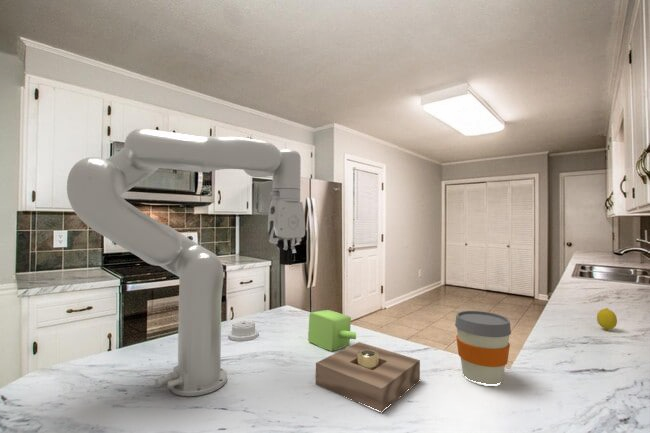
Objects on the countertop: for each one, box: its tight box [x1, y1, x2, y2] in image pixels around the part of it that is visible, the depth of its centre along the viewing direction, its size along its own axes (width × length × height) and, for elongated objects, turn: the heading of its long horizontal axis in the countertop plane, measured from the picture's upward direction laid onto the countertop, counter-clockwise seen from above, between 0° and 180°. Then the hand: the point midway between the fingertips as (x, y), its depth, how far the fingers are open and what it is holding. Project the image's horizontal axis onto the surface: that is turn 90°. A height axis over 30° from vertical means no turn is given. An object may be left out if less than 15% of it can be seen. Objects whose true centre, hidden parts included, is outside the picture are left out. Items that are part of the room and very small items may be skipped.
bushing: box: [358, 349, 379, 370], centre depth 78 cm, size 5×5×7 cm
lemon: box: [596, 307, 618, 331], centre depth 118 cm, size 6×6×8 cm
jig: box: [315, 341, 421, 412], centre depth 78 cm, size 18×18×5 cm
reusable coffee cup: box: [454, 310, 512, 384], centre depth 81 cm, size 13×13×15 cm
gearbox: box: [307, 309, 357, 352], centre depth 103 cm, size 18×10×10 cm, turn 44°
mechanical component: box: [227, 320, 260, 342], centre depth 109 cm, size 10×4×10 cm
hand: (285, 264), depth 87 cm, fingers closed
